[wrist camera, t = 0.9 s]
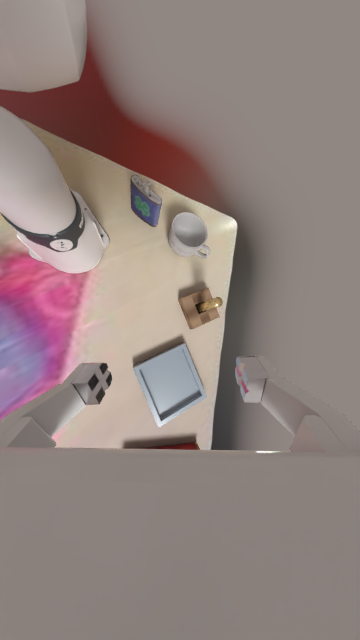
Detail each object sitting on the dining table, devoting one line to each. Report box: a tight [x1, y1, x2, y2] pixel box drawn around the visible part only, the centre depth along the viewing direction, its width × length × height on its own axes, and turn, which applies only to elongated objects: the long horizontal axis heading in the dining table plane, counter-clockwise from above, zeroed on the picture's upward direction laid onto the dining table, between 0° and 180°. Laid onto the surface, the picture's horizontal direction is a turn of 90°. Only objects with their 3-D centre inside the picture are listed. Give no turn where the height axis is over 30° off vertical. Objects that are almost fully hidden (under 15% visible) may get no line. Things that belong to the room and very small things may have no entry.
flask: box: [131, 175, 162, 227], centre depth 40 cm, size 9×3×11 cm, turn 55°
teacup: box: [169, 212, 210, 258], centre depth 44 cm, size 14×11×8 cm
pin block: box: [178, 288, 220, 329], centre depth 47 cm, size 10×10×3 cm
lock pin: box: [195, 297, 223, 312], centre depth 42 cm, size 2×2×13 cm
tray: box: [133, 343, 207, 427], centre depth 43 cm, size 18×16×2 cm
